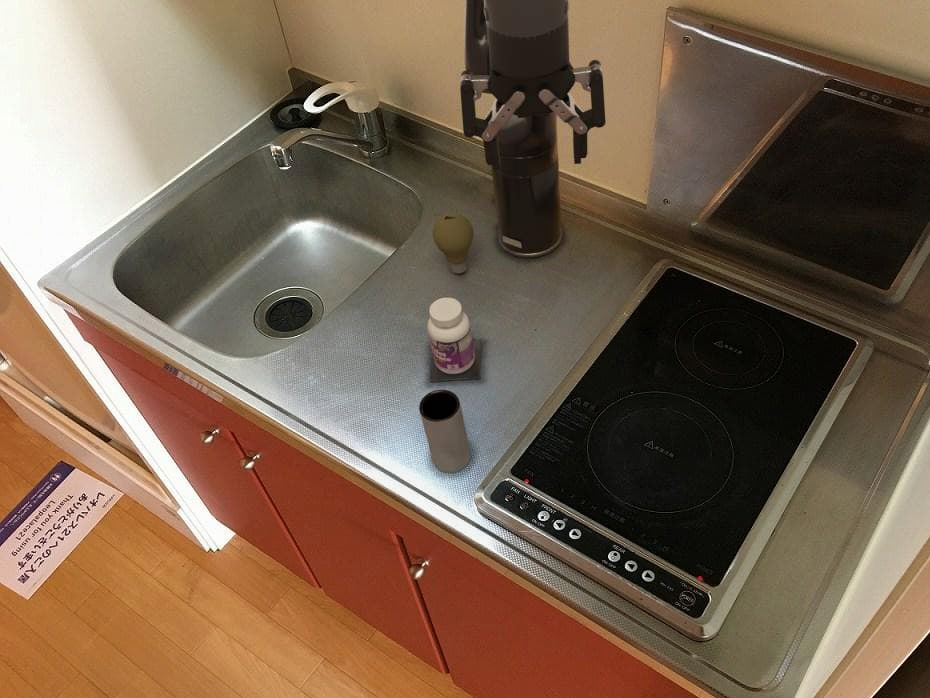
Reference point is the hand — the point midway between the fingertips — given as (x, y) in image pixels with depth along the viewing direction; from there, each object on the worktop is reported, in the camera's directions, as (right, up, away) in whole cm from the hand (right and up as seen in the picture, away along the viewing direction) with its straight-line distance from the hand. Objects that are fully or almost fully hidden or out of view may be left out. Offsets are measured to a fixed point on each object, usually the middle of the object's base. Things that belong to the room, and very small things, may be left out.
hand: (536, 162), depth 87 cm
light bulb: (-10, -7, +32) cm, 34 cm away
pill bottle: (-10, -21, +20) cm, 31 cm away
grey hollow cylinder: (-10, -32, +11) cm, 36 cm away
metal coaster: (-10, -21, +21) cm, 31 cm away
